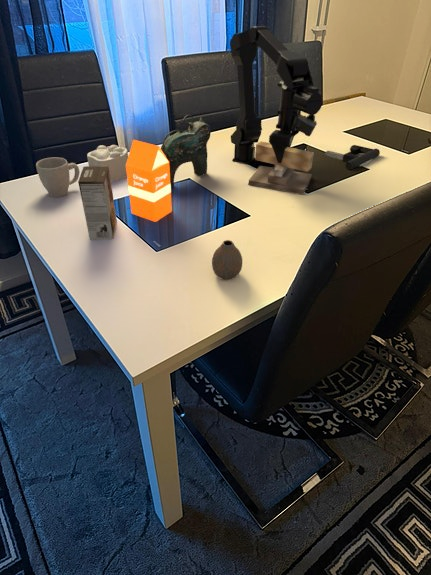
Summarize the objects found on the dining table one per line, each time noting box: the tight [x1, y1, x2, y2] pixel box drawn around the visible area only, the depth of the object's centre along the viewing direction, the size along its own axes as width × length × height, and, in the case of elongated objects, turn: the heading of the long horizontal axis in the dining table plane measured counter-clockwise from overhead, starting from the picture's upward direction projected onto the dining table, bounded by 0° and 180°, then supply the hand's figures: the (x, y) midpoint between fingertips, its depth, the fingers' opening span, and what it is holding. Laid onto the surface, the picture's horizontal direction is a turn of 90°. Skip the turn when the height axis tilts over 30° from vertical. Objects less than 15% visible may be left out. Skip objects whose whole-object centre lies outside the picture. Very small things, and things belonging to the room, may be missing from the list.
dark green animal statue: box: [160, 114, 211, 188], centre depth 131 cm, size 20×6×20 cm, turn 134°
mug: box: [35, 156, 81, 198], centre depth 125 cm, size 12×9×10 cm
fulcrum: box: [247, 164, 313, 195], centre depth 135 cm, size 18×13×6 cm
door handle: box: [324, 144, 381, 170], centre depth 154 cm, size 3×20×16 cm
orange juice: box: [126, 139, 173, 223], centre depth 113 cm, size 8×9×20 cm
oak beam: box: [254, 140, 315, 173], centre depth 132 cm, size 18×4×5 cm, turn 60°
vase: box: [211, 239, 243, 281], centre depth 94 cm, size 7×7×9 cm
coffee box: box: [77, 165, 118, 240], centre depth 106 cm, size 9×6×16 cm
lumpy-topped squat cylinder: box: [86, 144, 129, 183], centre depth 137 cm, size 10×13×9 cm
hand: (283, 157), depth 132 cm, fingers open, 9 cm apart
